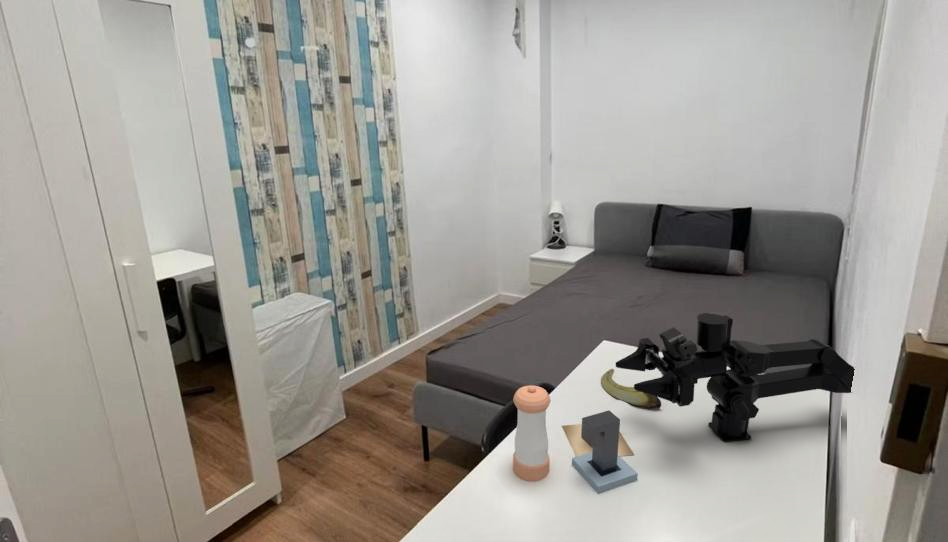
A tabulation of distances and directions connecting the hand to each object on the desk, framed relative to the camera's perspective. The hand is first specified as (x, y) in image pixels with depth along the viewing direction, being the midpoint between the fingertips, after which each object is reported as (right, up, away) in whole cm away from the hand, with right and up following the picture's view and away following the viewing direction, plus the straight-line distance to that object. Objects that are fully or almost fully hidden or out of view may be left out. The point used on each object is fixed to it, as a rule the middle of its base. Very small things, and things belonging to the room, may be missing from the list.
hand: (624, 375), depth 105 cm
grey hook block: (-7, -19, -4) cm, 20 cm away
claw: (+9, -10, +26) cm, 29 cm away
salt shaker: (-20, -19, -2) cm, 27 cm away
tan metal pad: (-4, -16, +6) cm, 17 cm away
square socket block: (-5, -19, -4) cm, 20 cm away
